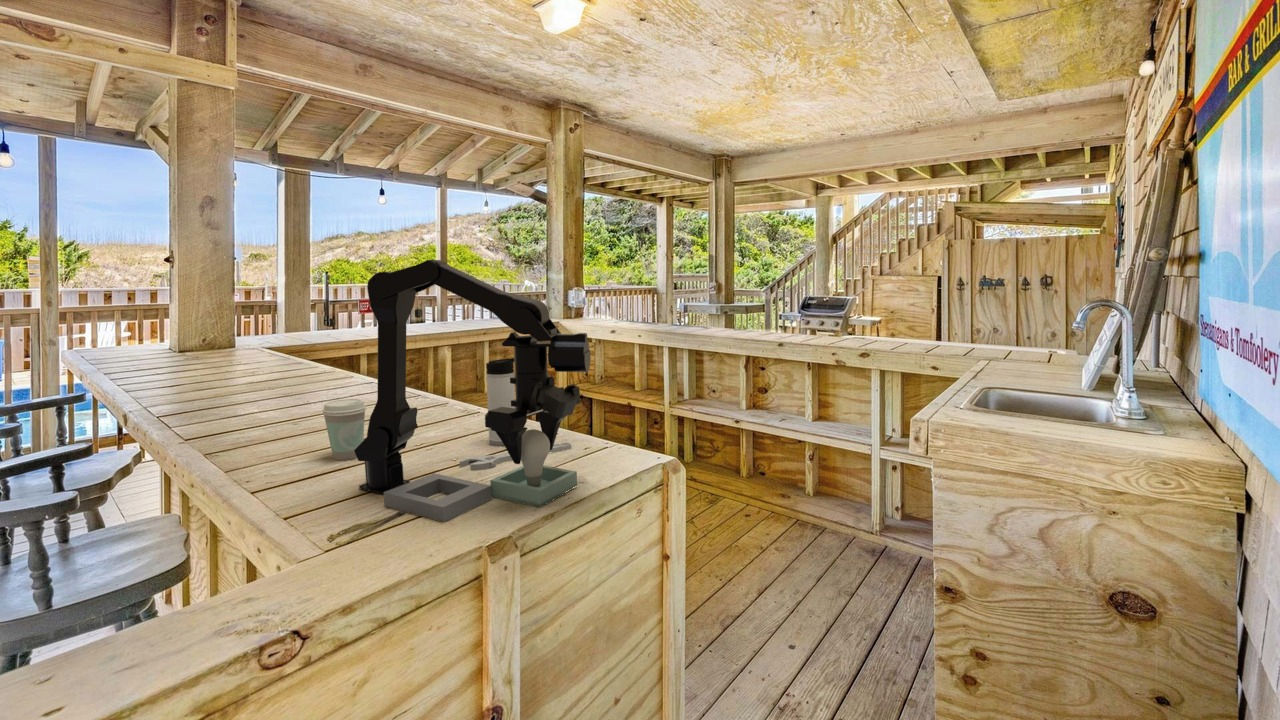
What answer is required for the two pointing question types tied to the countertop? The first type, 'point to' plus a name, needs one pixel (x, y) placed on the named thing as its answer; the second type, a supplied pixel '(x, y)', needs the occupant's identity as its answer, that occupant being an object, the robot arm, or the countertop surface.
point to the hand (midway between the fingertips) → (533, 456)
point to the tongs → (367, 527)
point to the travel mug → (499, 389)
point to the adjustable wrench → (499, 458)
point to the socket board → (443, 509)
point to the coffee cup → (345, 426)
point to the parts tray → (518, 491)
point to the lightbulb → (534, 455)
